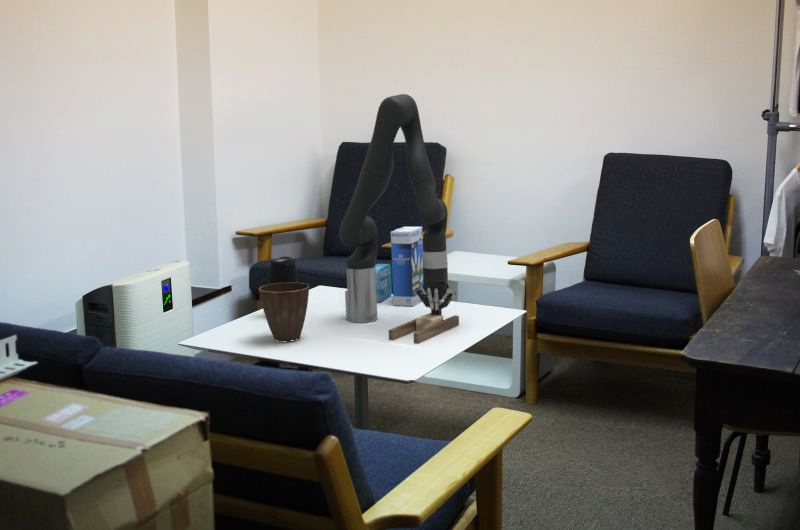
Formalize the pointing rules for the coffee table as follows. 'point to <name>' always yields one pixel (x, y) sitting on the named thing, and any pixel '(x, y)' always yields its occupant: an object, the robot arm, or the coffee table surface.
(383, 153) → the robot arm
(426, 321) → the maple block
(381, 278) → the data package
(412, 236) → the string lights box
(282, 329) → the plant pot
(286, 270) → the portable speaker
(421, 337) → the walnut chute
